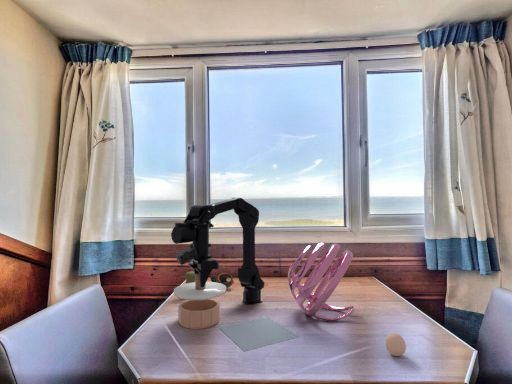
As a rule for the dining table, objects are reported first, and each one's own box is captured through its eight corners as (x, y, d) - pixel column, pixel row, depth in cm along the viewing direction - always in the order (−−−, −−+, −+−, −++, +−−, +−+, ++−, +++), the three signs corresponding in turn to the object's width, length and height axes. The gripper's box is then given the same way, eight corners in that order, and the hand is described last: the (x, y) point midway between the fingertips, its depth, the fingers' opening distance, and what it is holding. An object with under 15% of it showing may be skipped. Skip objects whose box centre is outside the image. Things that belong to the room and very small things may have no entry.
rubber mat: (267, 317, 112) (267, 316, 112) (299, 338, 95) (299, 336, 96) (218, 328, 103) (218, 327, 103) (244, 353, 86) (244, 351, 86)
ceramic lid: (214, 282, 121) (214, 266, 121) (234, 294, 105) (234, 276, 105) (168, 289, 112) (168, 271, 112) (182, 303, 96) (182, 283, 96)
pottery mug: (235, 286, 155) (237, 274, 152) (228, 299, 147) (230, 287, 143) (212, 279, 157) (214, 266, 154) (205, 292, 149) (206, 279, 145)
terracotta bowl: (211, 312, 118) (211, 296, 118) (226, 324, 106) (226, 307, 106) (174, 319, 111) (174, 302, 111) (185, 333, 99) (185, 314, 99)
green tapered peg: (194, 299, 133) (194, 273, 133) (181, 298, 134) (181, 273, 135) (200, 295, 139) (200, 270, 139) (187, 294, 140) (187, 270, 141)
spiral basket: (382, 259, 119) (322, 219, 125) (378, 297, 94) (303, 244, 101) (342, 307, 130) (289, 268, 137) (329, 352, 105) (264, 302, 112)
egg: (410, 358, 83) (409, 336, 83) (393, 361, 82) (393, 338, 82) (397, 349, 88) (397, 328, 88) (381, 351, 87) (381, 330, 87)
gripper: (170, 239, 113) (170, 282, 113) (186, 245, 97) (186, 296, 97) (200, 237, 119) (200, 278, 118) (219, 243, 102) (219, 290, 102)
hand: (200, 285), depth 109 cm, fingers closed on ceramic lid, 4 cm apart
